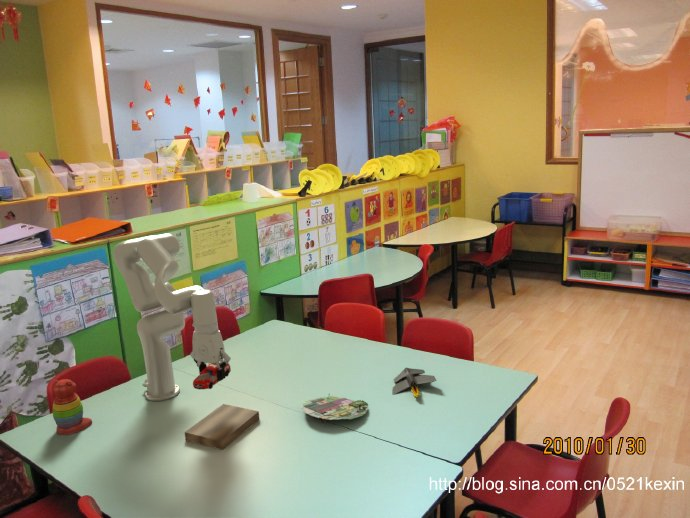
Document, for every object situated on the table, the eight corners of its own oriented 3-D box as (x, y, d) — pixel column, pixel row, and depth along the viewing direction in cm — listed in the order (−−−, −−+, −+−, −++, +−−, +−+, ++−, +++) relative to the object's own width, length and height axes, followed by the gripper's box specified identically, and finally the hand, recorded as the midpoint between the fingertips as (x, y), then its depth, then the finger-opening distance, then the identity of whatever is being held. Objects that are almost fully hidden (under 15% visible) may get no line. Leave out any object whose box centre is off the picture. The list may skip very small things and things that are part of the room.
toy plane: (442, 394, 203) (438, 380, 202) (396, 408, 203) (392, 395, 202) (428, 367, 228) (424, 355, 227) (387, 380, 228) (383, 368, 227)
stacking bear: (95, 422, 202) (87, 374, 198) (73, 437, 193) (64, 388, 188) (70, 418, 205) (62, 372, 201) (48, 433, 196) (38, 384, 192)
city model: (383, 408, 205) (382, 391, 204) (355, 433, 184) (355, 415, 183) (320, 398, 215) (320, 382, 215) (288, 421, 194) (287, 404, 194)
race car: (206, 393, 185) (204, 378, 184) (189, 390, 187) (187, 376, 186) (234, 371, 199) (233, 358, 198) (218, 369, 202) (216, 356, 201)
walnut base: (185, 440, 187) (184, 432, 186) (224, 411, 204) (223, 403, 203) (222, 449, 180) (221, 441, 179) (259, 419, 197) (258, 411, 196)
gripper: (177, 329, 190) (185, 379, 194) (220, 333, 182) (227, 386, 186) (193, 321, 196) (199, 370, 200) (234, 326, 189) (240, 376, 193)
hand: (212, 377), depth 193 cm, fingers closed on race car, 6 cm apart
